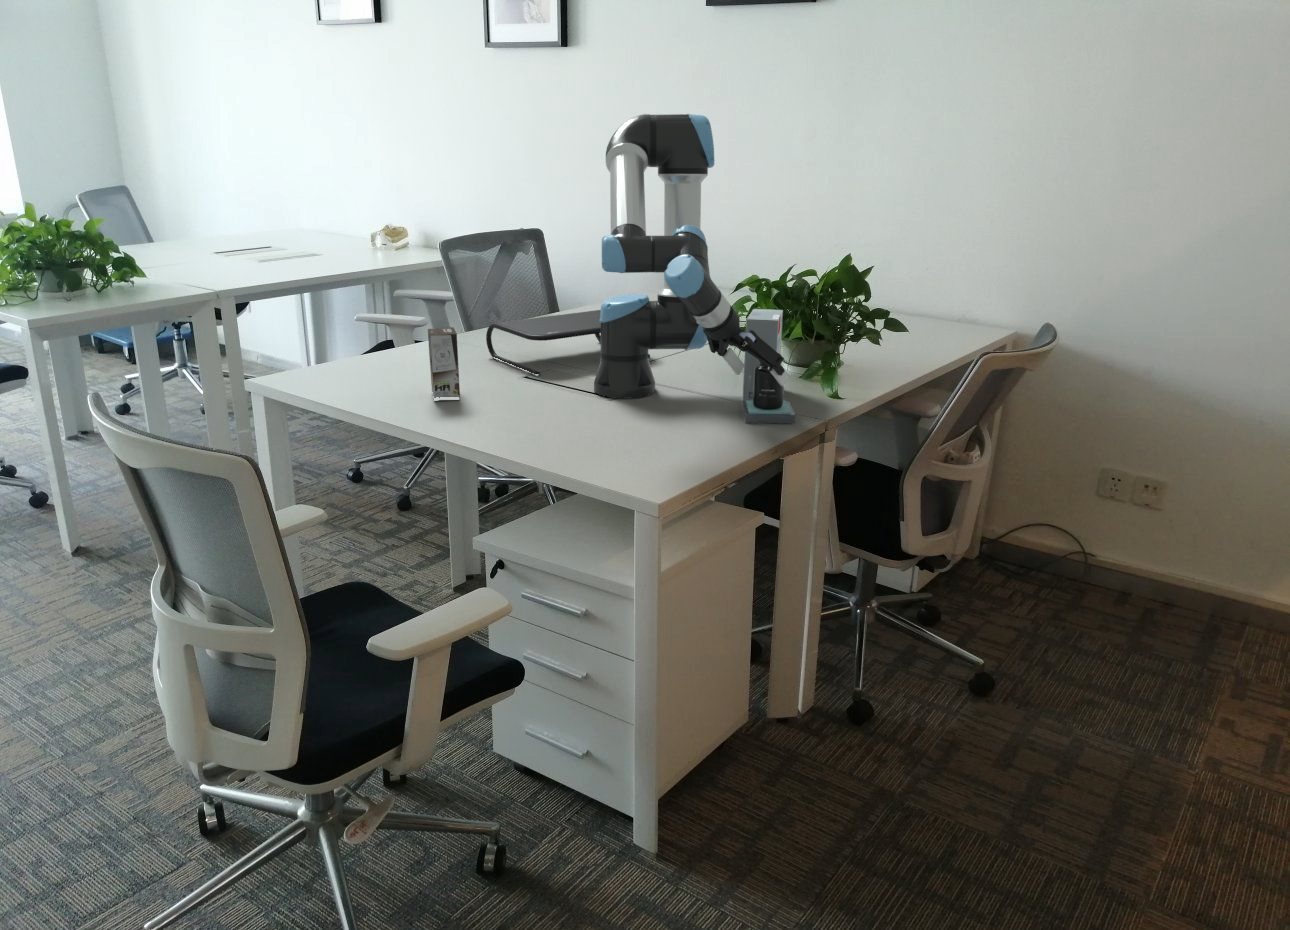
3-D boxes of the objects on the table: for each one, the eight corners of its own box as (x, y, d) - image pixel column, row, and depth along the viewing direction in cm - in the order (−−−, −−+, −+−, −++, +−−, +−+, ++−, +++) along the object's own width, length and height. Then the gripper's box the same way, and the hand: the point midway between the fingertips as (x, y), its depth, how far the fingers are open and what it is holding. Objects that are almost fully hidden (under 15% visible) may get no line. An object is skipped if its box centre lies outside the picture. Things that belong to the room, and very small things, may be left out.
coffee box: (461, 400, 245) (457, 333, 240) (433, 402, 243) (429, 335, 238) (458, 391, 253) (454, 326, 248) (431, 392, 252) (427, 327, 247)
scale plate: (749, 416, 228) (749, 411, 227) (745, 405, 237) (745, 400, 236) (790, 416, 228) (791, 411, 227) (785, 405, 236) (786, 400, 236)
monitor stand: (536, 377, 268) (534, 337, 264) (486, 357, 289) (484, 319, 286) (650, 359, 288) (651, 321, 285) (596, 341, 310) (595, 306, 306)
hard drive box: (774, 404, 242) (778, 320, 236) (742, 402, 244) (744, 319, 237) (779, 388, 257) (783, 308, 250) (749, 386, 258) (751, 307, 252)
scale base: (745, 423, 227) (745, 414, 227) (741, 409, 238) (741, 401, 237) (795, 423, 227) (795, 415, 227) (788, 410, 238) (789, 401, 237)
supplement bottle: (763, 411, 227) (765, 358, 223) (746, 404, 233) (748, 352, 229) (789, 407, 230) (791, 355, 226) (772, 400, 236) (774, 349, 232)
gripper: (666, 321, 222) (714, 378, 236) (749, 339, 204) (796, 400, 218) (685, 294, 223) (731, 352, 237) (769, 309, 205) (814, 372, 219)
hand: (762, 375), depth 228 cm, fingers open, 13 cm apart
